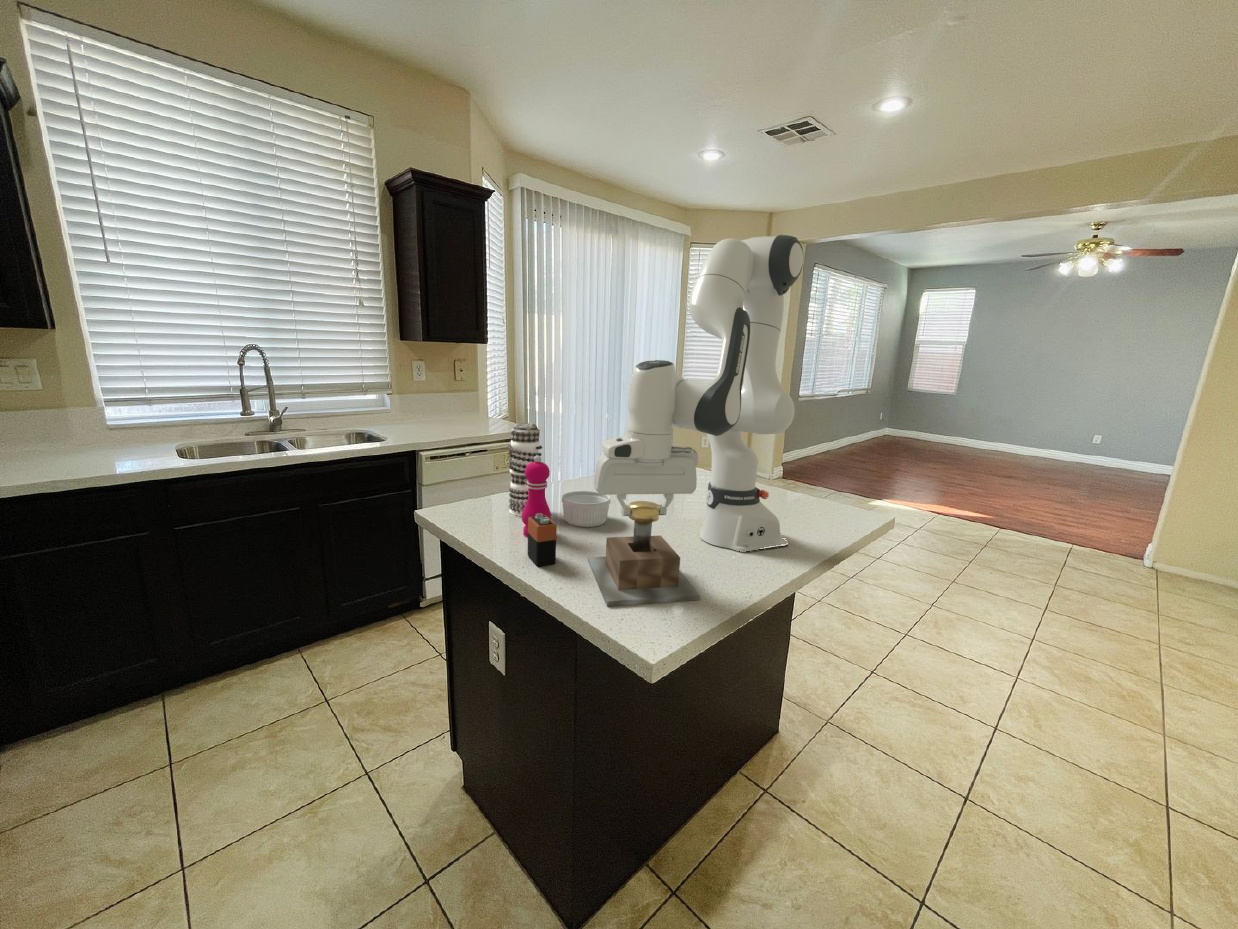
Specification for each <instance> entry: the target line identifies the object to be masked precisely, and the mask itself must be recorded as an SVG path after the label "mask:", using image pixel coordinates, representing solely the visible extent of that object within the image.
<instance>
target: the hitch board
mask: <svg viewBox="0 0 1238 929" xmlns="http://www.w3.org/2000/svg"><path fill="white" fill-rule="evenodd" d="M587 562H588V564H589V567H590V569H591V572H592V574H593V577H594V579H595V581H596V584H597V586H598V588H599V591H600V593H601V595H602V597H603V601H604V602H605V605H606V607H617V606H618V607H619V606H633V605H647V604H649V605H650V604H661V603H664V604H665V603H676V602H687V601H701V594H700V593H699V592H698V590H697V589H696V588H695V587H694V586H693V585H692V583H691V582H690V581H689V579H688V578H687V577H686V576H685V574H683V572H682V571H681V570H680V568H681V556H680V555H678V553H677V552H676V550H674V549H673V547H672V546H671V545H670V544H669V543H668V542H667V541H666V539H665V538H664V537H663V536H662V535H651V543H650V547H648V548H637V547H635V546H633V536H613V537H611V536H610V537H609V536H607V537H606V543H605V555H604V556H589V557H587Z"/></svg>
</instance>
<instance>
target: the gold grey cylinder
mask: <svg viewBox="0 0 1238 929" xmlns="http://www.w3.org/2000/svg"><path fill="white" fill-rule="evenodd" d="M628 505H629V507H631V511H630V513H631V515H630V516H628V518H629V519H630V520H632V521H634V523H633V524H634V525H633V536H632V537H633V546H635V547H637V548H648V547H650V543H651V536H652V527H653V523H656V522H657V521H659V519H660V515H659V509H660V506H659V505H660V504H658V503H657V502H653V501H648V500H647V501H645V500H636V501H631V502H629V504H628Z"/></svg>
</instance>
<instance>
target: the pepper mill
mask: <svg viewBox="0 0 1238 929" xmlns="http://www.w3.org/2000/svg"><path fill="white" fill-rule="evenodd" d="M534 461H535V462H531V463H529V464H528V465H527V466H526V468H525V477H526V478H527V479H528V481H527V488H528V492H529V493H528V500H527V503H526V505H525V507H524V509H523V512H522V516H521V521H522V523H523V524H524V526H523V529H522V530H523V532H522V533H523V535H525V537H526V538H528V518H529V517H535V516H536V514H543V516H544V515H546V516H547V517H548V518H550V520H552V513H551V509H550V507H549V505H548V502H547V499H546V498H547V497H546V489H547V488H548V481H547V480H548V479H549V477H550V474H551V473H550V472H551V471H550V468H549V466H548V465H547V464H546V463H545V462H543V461H542V456H538V455H537V456H535V457H534Z"/></svg>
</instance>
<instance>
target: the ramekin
mask: <svg viewBox="0 0 1238 929" xmlns="http://www.w3.org/2000/svg"><path fill="white" fill-rule="evenodd" d="M561 503H562V513H563V518H564V520H565V521H566V523H567V524H569V525H571V526H575V527H578V528H579V527H581V528H592V527H593V528H594V527H598V526H601V525H604V523H605V522H606V521H607V519H608V513H609V509H610V504H611V496H610V495H601V494H599V493H598V492H597V491H596V490H574V491H573V490H572V491H568V492H566V493H563V494H562V496H561Z"/></svg>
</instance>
